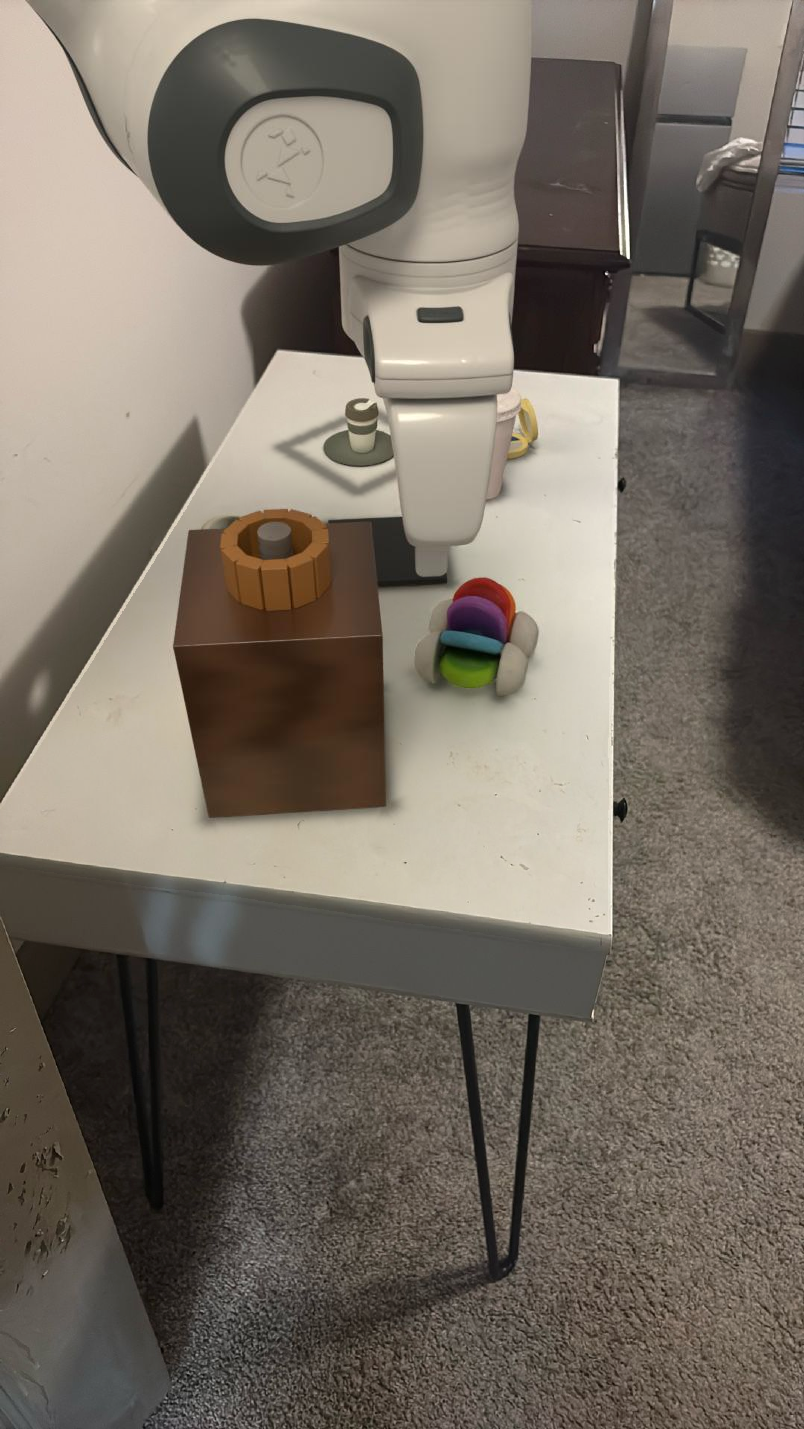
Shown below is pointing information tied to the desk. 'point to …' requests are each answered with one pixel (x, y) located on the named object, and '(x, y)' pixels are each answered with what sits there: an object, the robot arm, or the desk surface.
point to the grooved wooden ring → (276, 561)
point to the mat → (394, 553)
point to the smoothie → (503, 438)
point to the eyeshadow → (524, 430)
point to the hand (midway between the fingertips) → (422, 524)
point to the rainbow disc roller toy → (478, 639)
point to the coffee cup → (360, 437)
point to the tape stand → (284, 682)
